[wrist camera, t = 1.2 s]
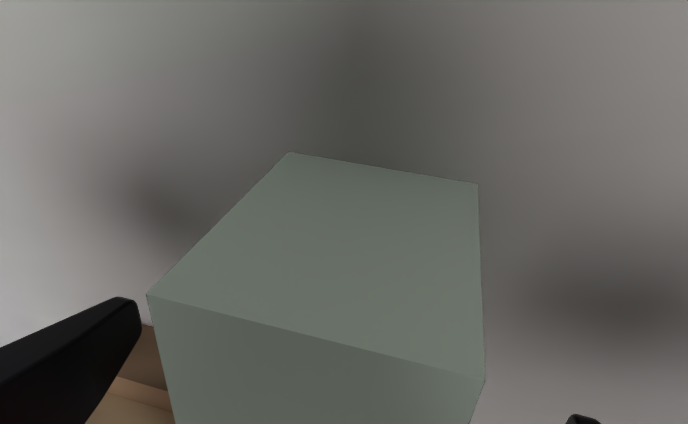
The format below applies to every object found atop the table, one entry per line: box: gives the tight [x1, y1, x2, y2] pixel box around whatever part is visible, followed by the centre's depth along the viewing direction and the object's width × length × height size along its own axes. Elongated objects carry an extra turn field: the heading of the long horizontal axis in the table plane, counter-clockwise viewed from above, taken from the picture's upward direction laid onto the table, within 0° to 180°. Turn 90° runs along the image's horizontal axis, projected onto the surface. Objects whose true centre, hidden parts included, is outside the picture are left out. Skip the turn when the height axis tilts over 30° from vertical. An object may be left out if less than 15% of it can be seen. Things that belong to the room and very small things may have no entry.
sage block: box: [146, 152, 485, 424], centre depth 10 cm, size 5×5×6 cm
